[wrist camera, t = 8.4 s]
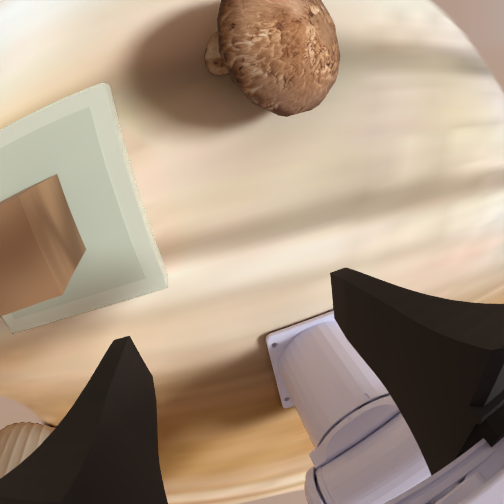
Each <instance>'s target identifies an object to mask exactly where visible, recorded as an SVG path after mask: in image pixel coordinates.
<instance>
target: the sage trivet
mask: <svg viewBox="0 0 504 504" xmlns="http://www.w3.org/2000/svg"><path fill="white" fill-rule="evenodd" d="M56 174H57V175H58V178H59V181H60V184H61V187H62V189H63V192H64V195H65V198H66V200H67V203H68V206H69V208H70V211H71V214H72V216H73V219H74V221H75V224H76V226H77V229H78V231H79V234H80V236H81V238H82V241H83V243H84V245H85V248H86V251H85V253H84V254H83V256H82V258H81V260H80V262H79V264H78V266H77V267H76V269H75V271H74V273H73V275H72V277H71V279H70V281H69V283H68V285H67V287H66V289H65V291H64V293H63V295H61V296H58V297H55V298H52V299H49V300H46V301H43V302H41V303H38V304H35V305H32V306H29V307H26V308H23V309H21V310H18V311H15V312H12V313H9V314H7V315H4V316H1V317H2V318H3V320H4V322H5V323H6V325H7V327H8V328H9V330H10V331H11V333H12V334H14V333H17V332H21V331H24V330H27V329H31V328H34V327H38V326H41V325H45V324H48V323H51V322H55V321H58V320H62V319H65V318H68V317H72V316H75V315H79V314H82V313H85V312H89V311H92V310H95V309H99V308H102V307H105V306H109V305H112V304H115V303H119V302H122V301H125V300H129V299H132V298H135V297H139V296H142V295H145V294H149V293H152V292H155V291H159V290H162V289H165V288H168V277H167V272H166V269H165V266H164V263H163V261H162V258H161V255H160V252H159V250H158V247H157V244H156V241H155V238H154V235H153V232H152V230H151V227H150V224H149V221H148V218H147V215H146V212H145V209H144V205H143V202H142V199H141V196H140V193H139V190H138V187H137V183H136V180H135V177H134V174H133V170H132V167H131V163H130V160H129V157H128V153H127V150H126V146H125V142H124V139H123V135H122V131H121V128H120V124H119V120H118V116H117V112H116V108H115V104H114V100H113V96H112V92H111V88H110V85H108V84H106V83H105V82H103V83H100V84H97V85H95V86H92V87H90V88H87V89H84V90H82V91H79V92H77V93H75V94H72V95H70V96H67V97H65V98H63V99H61V100H58V101H56V102H54V103H52V104H50V105H47V106H45V107H43V108H41V109H39V110H37V111H35V112H33V113H31V114H29V115H27V116H25V117H23V118H21V119H19V120H17V121H15V122H14V123H12V124H10V125H8V126H6V127H5V128H3V129H1V130H0V202H1V201H3V200H5V199H7V198H9V197H10V196H12V195H14V194H16V193H18V192H20V191H22V190H24V189H26V188H28V187H30V186H32V185H34V184H36V183H39V182H41V181H43V180H45V179H47V178H49V177H51V176H54V175H56Z"/></svg>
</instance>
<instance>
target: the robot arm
mask: <svg viewBox="0 0 504 504" xmlns="http://www.w3.org/2000/svg"><path fill="white" fill-rule="evenodd" d="M330 275H331V285H332V297H333V308H334V310H333V311H331V312H328V313H326V314H323V315H320V316H318V317H315V318H312V319H309V320H307V321H304V322H301V323H298V324H296V325H293V326H290V327H287V328H284V329H281V330H278V331H276V332H273V333H270V334H268V335H267V336H266V344H267V348H268V352H269V356H270V360H271V364H272V367H273V371H274V375H275V379H276V383H277V387H278V391H279V395H280V399H281V403H282V406H283V407H284V408H290V407H293V406H295V408H296V410H297V412H298V414H299V416H300V418H301V420H302V422H303V425H304V427H305V429H306V431H307V433H308V435H309V437H310V439H311V441H312V443H313V445H314V447H315V450H314V451H312V452H311V453H310V454H309V455H310V458H311V460H312V462H313V464H314V467H312V468H310V469H309V470H308V471H307V473H306V481H305V494H306V498H307V501H308V504H504V304H483V303H471V302H463V301H455V300H449V299H444V298H439V297H434V296H430V295H426V294H422V293H419V292H415V291H412V290H408V289H405V288H402V287H399V286H396V285H393V284H390V283H388V282H385V281H382V280H379V279H377V278H374V277H371V276H369V275H366V274H363V273H361V272H358V271H355V270H352V269H349V268H343V269H340V270H337V271H334V272H332V273H330ZM273 343H275V344H274V345H272V344H273ZM0 504H168V502H167V498H166V494H165V490H164V486H163V481H162V476H161V471H160V465H159V456H158V438H157V408H156V396H155V389H154V383H153V376H152V375H151V373H150V371H149V370H148V368H147V366H146V364H145V363H144V361H143V359H142V357H141V356H140V354H139V352H138V350H137V349H136V347H135V345H134V343H133V341H132V339H131V337H130V336H127V337H124V338H120V339H116V340H114V341H113V342H112V344H111V345H110V347H109V348H108V350H107V352H106V353H105V355H104V357H103V358H102V360H101V362H100V364H99V365H98V367H97V369H96V370H95V372H94V374H93V375H92V377H91V379H90V380H89V382H88V383H87V385H86V387H85V388H84V390H83V391H82V393H81V394H80V396H79V397H78V399H77V400H76V402H75V403H74V405H73V406H72V408H71V409H70V410H69V412H68V413H67V415H66V416H65V417H64V418H63V420H62V421H61V422H60V423H59V425H58V426H57V427H56V428H55V429H54V430H53V432H52V433H51V434H50V435H49V436H48V437H47V438H46V439H45V440H44V441H43V443H42V444H41V445H40V446H39V447H38V448H37V449H36V450H35V451H34V452H33V453H31V454H30V455H29V456H28V457H27V458H26V459H25V460H24V461H23V462H21V463H20V464H19V465H18V466H17V467H15V468H14V469H13V470H11V471H10V472H9V473H7V474H6V475H4V476H3V477H2V478H0Z"/></svg>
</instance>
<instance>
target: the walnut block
mask: <svg viewBox="0 0 504 504" xmlns="http://www.w3.org/2000/svg"><path fill="white" fill-rule="evenodd" d="M85 251H86V248H85V245H84V243H83V241H82V238H81V236H80V234H79V231H78V229H77V226H76V224H75V221H74V219H73V216H72V214H71V211H70V208H69V206H68V203H67V200H66V198H65V195H64V192H63V189H62V187H61V184H60V181H59V178H58V175H57V174H56V175H54V176H51V177H49V178H47V179H45V180H43V181H41V182H39V183H36V184H34V185H32V186H30V187H28V188H26V189H24V190H22V191H20V192H18V193H16V194H14V195H12V196H10V197H9V198H7V199H5V200H3V201H1V202H0V317H1V316H4V315H7V314H9V313H12V312H15V311H18V310H21V309H23V308H26V307H29V306H32V305H35V304H38V303H41V302H43V301H46V300H49V299H52V298H55V297H58V296H61V295H63V293H64V291H65V289H66V287H67V285H68V283H69V281H70V279H71V277H72V275H73V273H74V271H75V269H76V267H77V266H78V264H79V262H80V260H81V258H82V256H83V254H84V253H85Z"/></svg>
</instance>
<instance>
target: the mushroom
mask: <svg viewBox="0 0 504 504" xmlns="http://www.w3.org/2000/svg"><path fill="white" fill-rule="evenodd" d="M217 20H218V31H217V32H216V33H215V34H214V35H212V37H211V39H210V41H209V43H208V45H207V48H206V52H205V56H204V58H205V62H206V66H207V68H208V70H209V71H210V73H212V74H215V75H217V76H219V75H222V74H225V73H229V74H230V77H231V79H232V81H233V82H234V83H235V84H236V85H237V86H238V87H239V88H240V89H241V90H242V92H243V93H244V94H245V95H246V96H247V97H248V98H249V99H250V100H251V101H252V102H253V103H254V104H256V105H258V106H260V107H262V108H264V109H266V110H269V111H271V112H273V113H275V114H277V115H279V116H290V115H294V114H298V113H301V112H305V111H309V110H312V109H313V108H315V107H317V106H318V105H319V104H320V103H321V102H322V101H323V99H324V98H325V97H326V95H327V93H328V92H329V90H330V89H331V87H332V86H333V84H334V83H335V81H336V77H337V74H338V69H339V61H340V52H339V47H338V41H337V36H336V30H335V25H334V23H333V21H332V19H331V16H330V14H329V13H328V11H327V9H326V8H325V6H324V4H323V3H322V1H321V0H221V4H220V9H219V14H218V19H217Z"/></svg>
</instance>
